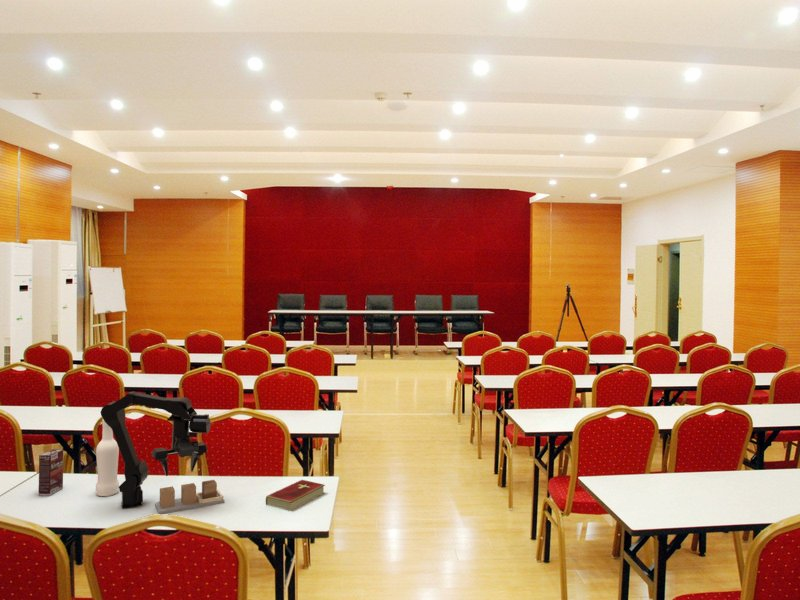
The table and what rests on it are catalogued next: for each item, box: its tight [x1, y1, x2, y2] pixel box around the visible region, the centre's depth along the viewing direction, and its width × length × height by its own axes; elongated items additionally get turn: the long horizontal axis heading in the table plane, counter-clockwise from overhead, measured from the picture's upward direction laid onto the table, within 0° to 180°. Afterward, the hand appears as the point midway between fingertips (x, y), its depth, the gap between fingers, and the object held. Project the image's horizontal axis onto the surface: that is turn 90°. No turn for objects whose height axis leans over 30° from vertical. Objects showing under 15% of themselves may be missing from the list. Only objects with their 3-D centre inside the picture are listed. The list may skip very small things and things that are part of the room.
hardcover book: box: [265, 479, 326, 512], centre depth 216 cm, size 12×21×4 cm, turn 151°
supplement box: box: [38, 448, 64, 497], centre depth 220 cm, size 9×5×16 cm, turn 0°
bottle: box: [95, 418, 120, 497], centre depth 219 cm, size 8×8×30 cm
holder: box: [154, 482, 225, 515], centre depth 209 cm, size 23×10×7 cm, turn 121°
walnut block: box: [201, 479, 218, 499], centre depth 213 cm, size 4×4×6 cm
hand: (179, 473), depth 209 cm, fingers open, 9 cm apart
